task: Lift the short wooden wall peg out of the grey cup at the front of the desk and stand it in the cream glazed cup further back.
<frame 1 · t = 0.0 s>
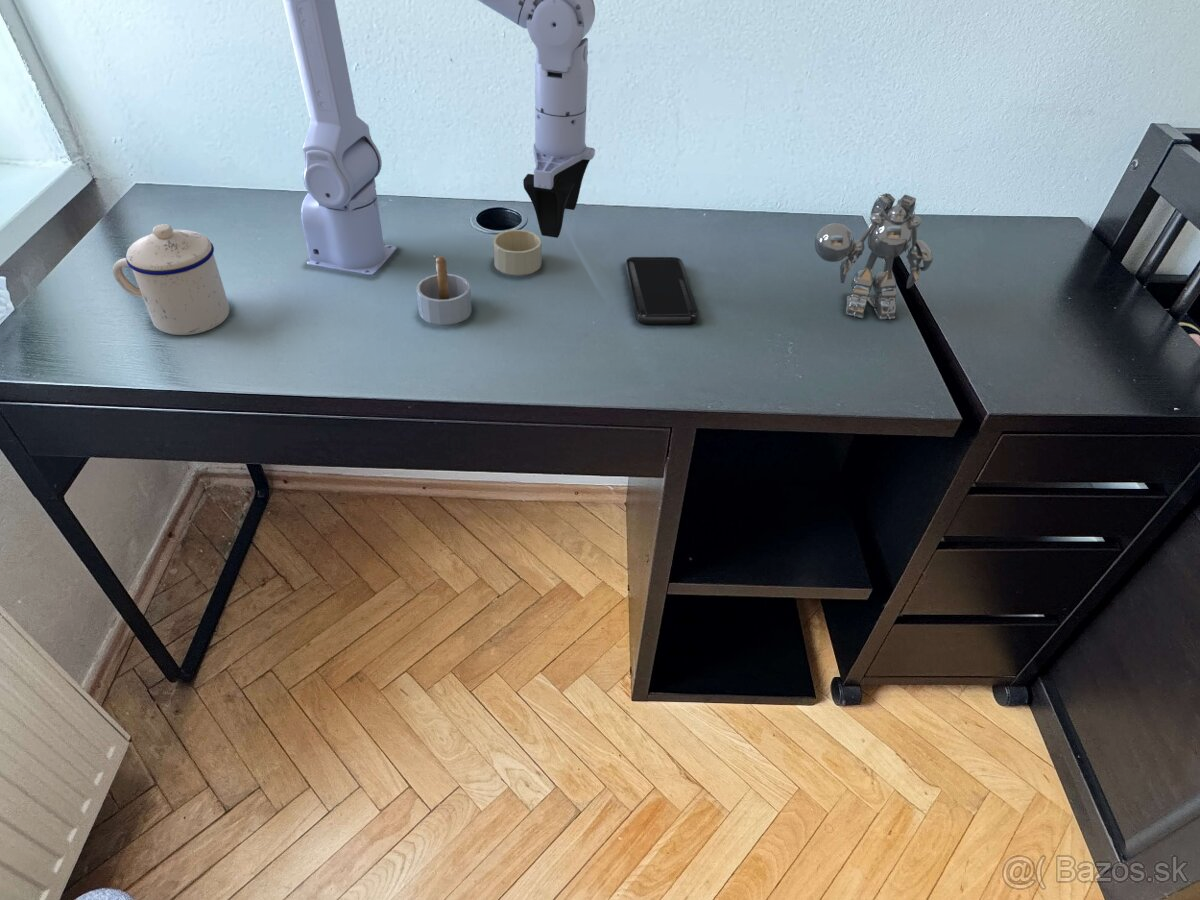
hand: (558, 221, 98), 10 cm above the table, tool pointing down, fingers open, 7 cm apart
grey cup: (445, 313, 100), on the table, touching wooden wall peg
cream cup: (517, 266, 109), on the table
wooden wall peg: (445, 310, 100), resting on grey cup
phone: (660, 293, 106), on the table
robot toy: (855, 307, 106), on the table
teacup with lid: (180, 317, 97), on the table
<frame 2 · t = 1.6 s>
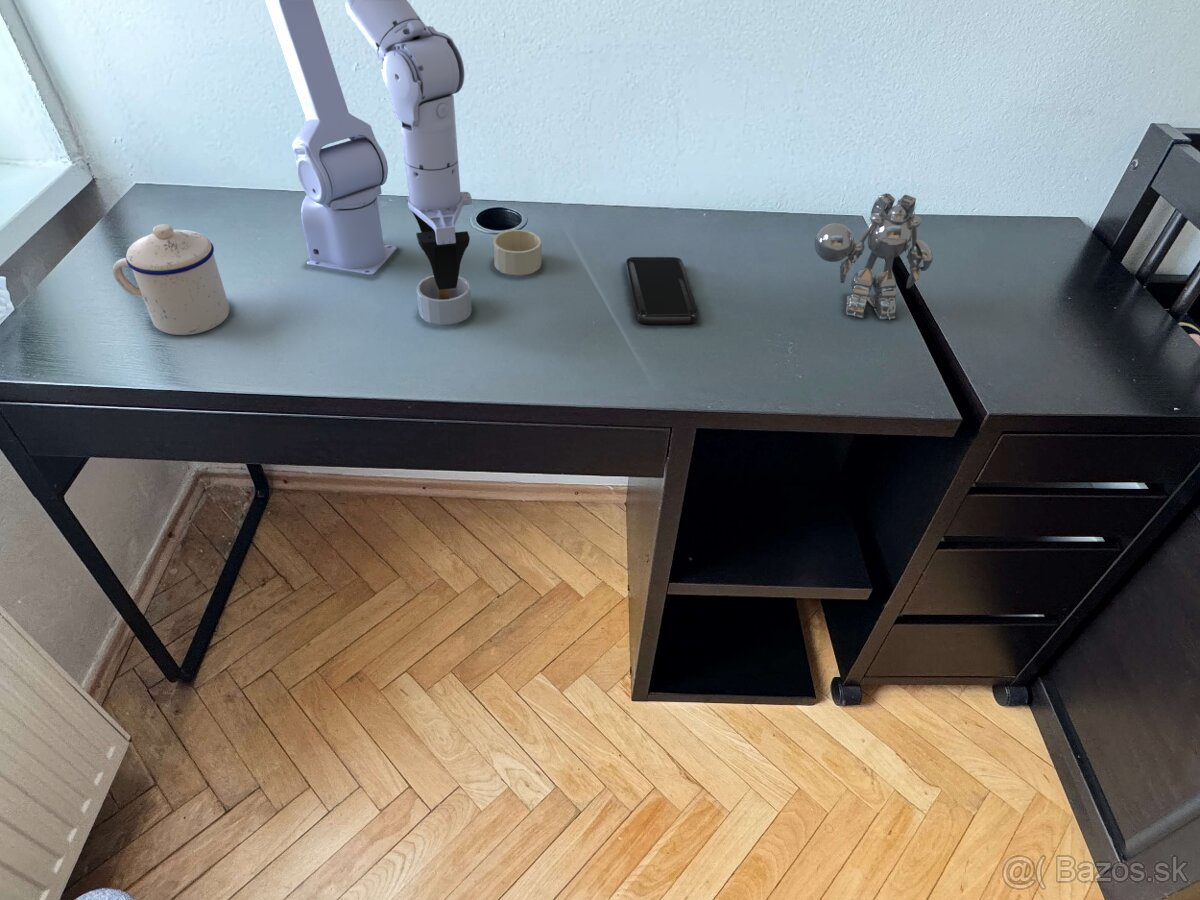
hand: (442, 271, 96), 6 cm above the table, tool pointing down, fingers open, 7 cm apart
nothing on the table moved.
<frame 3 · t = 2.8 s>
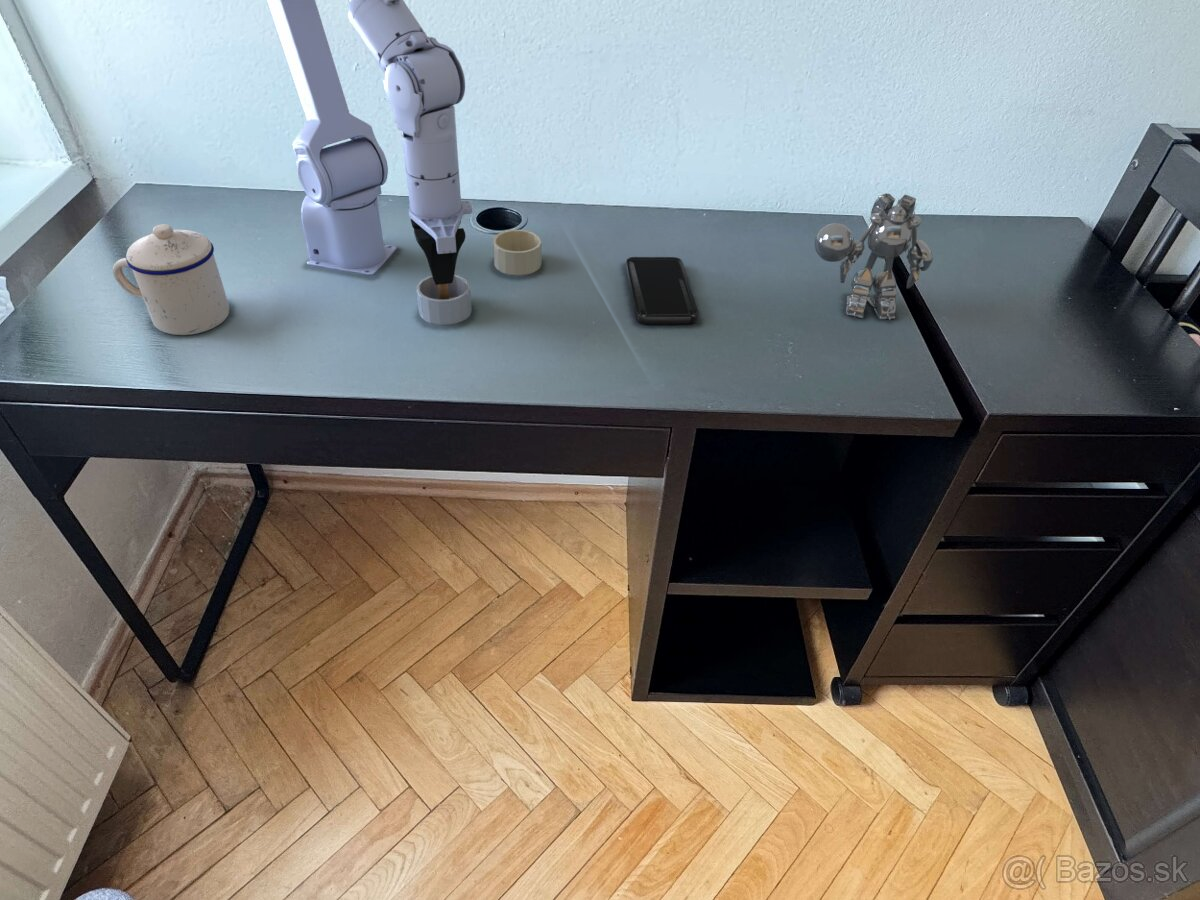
hand: (442, 279, 97), 5 cm above the table, tool pointing down, fingers closed on wooden wall peg, 1 cm apart
wooden wall peg: (445, 310, 100), resting on grey cup, touching gripper
everything else where it was.
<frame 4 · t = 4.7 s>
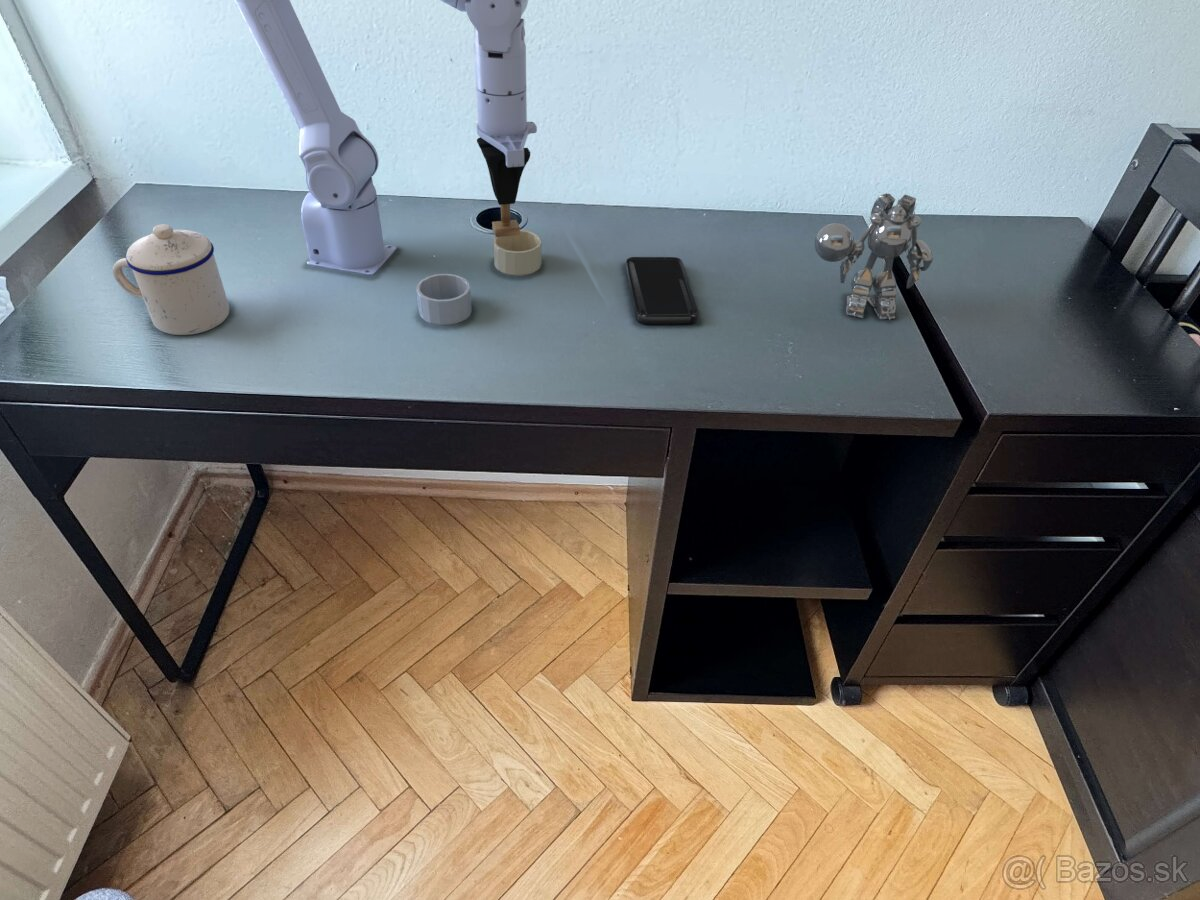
hand: (505, 200, 101), 10 cm above the table, tool pointing down, fingers closed on wooden wall peg
grey cup: (445, 313, 100), on the table
wooden wall peg: (506, 232, 104), point 6 cm above the table, touching gripper
everything else where it was.
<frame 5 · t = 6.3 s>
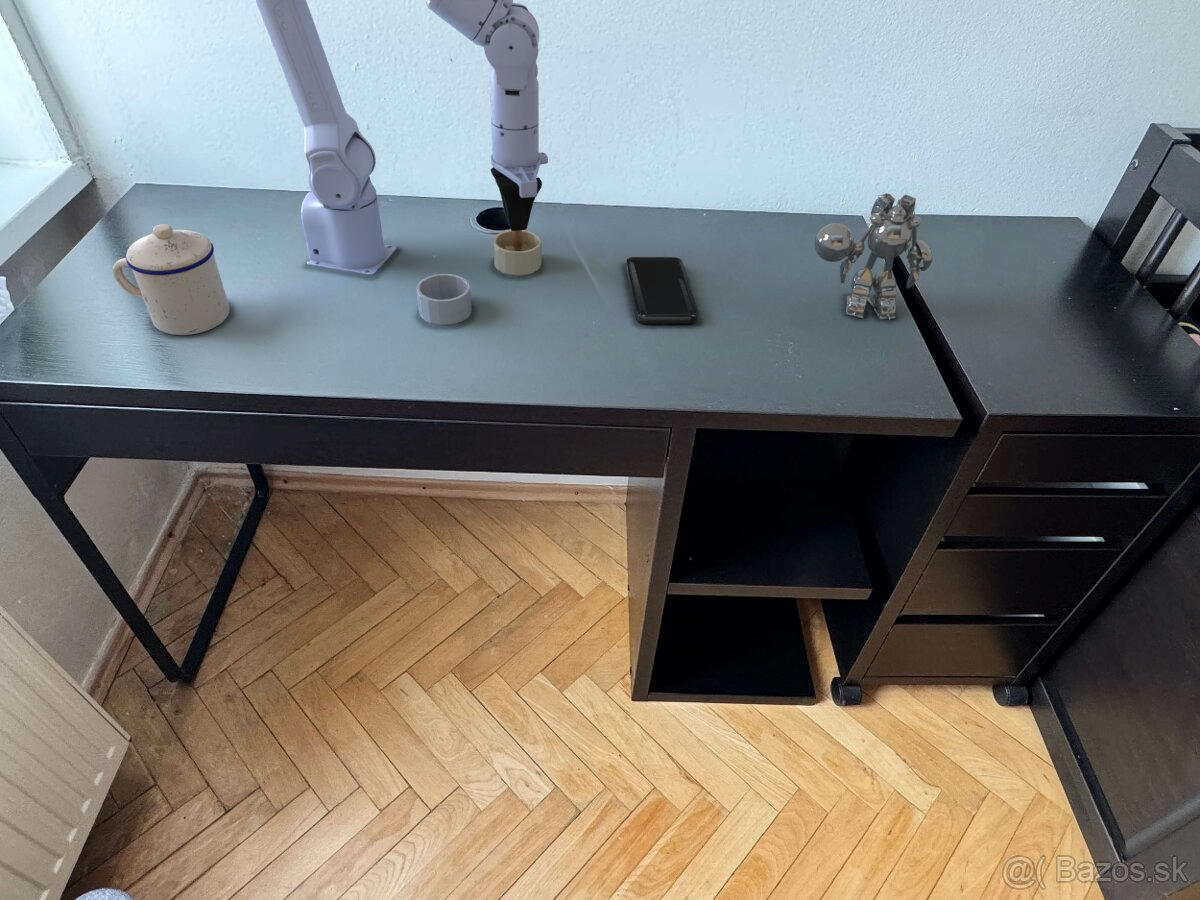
hand: (517, 226, 105), 6 cm above the table, tool pointing down, fingers closed on wooden wall peg, 1 cm apart
wooden wall peg: (517, 256, 108), point 2 cm above the table, touching gripper
everything else where it was.
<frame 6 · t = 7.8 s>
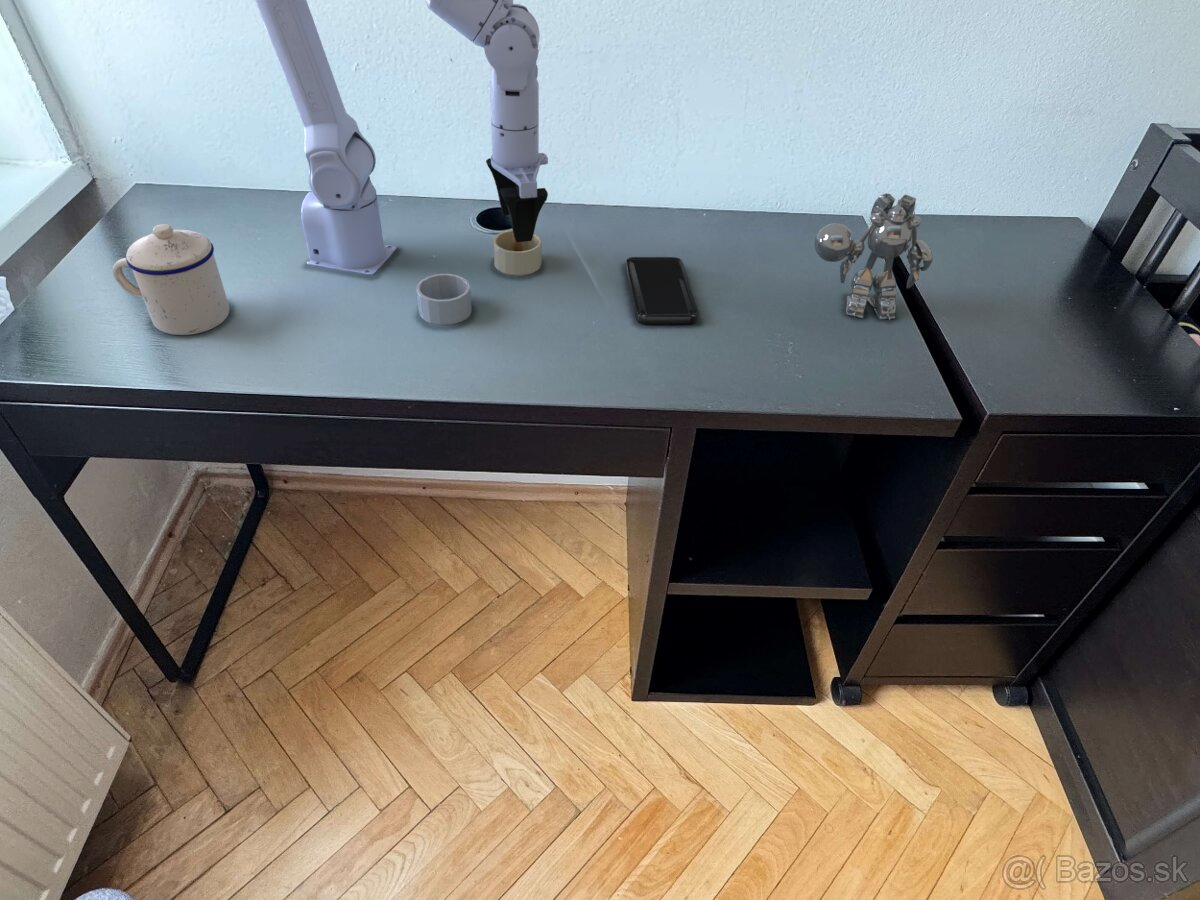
hand: (516, 226, 106), 6 cm above the table, tool pointing down, fingers open, 7 cm apart
cream cup: (517, 266, 109), on the table, touching wooden wall peg
wooden wall peg: (518, 262, 109), resting on cream cup
everything else where it was.
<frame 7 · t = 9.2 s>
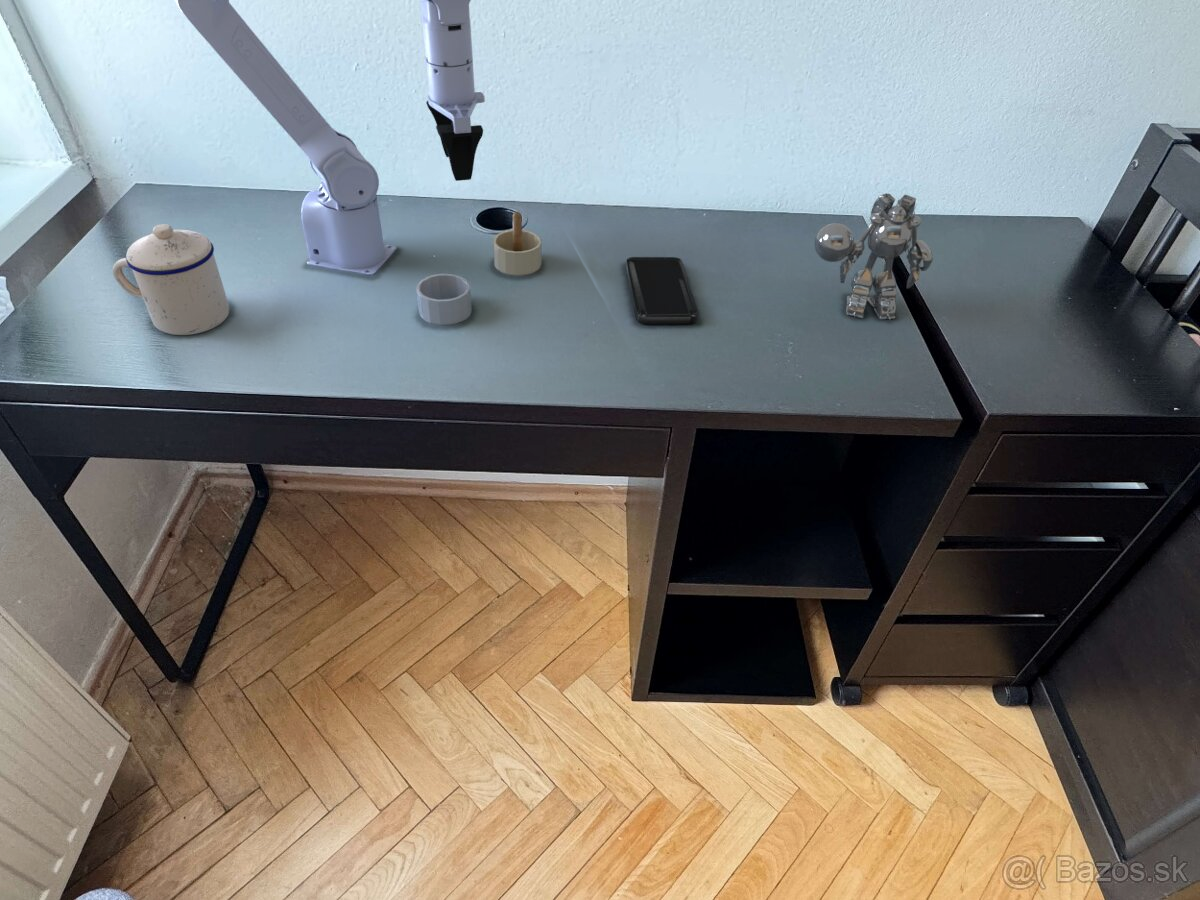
hand: (458, 167, 108), 10 cm above the table, tool pointing down, fingers open, 7 cm apart
nothing on the table moved.
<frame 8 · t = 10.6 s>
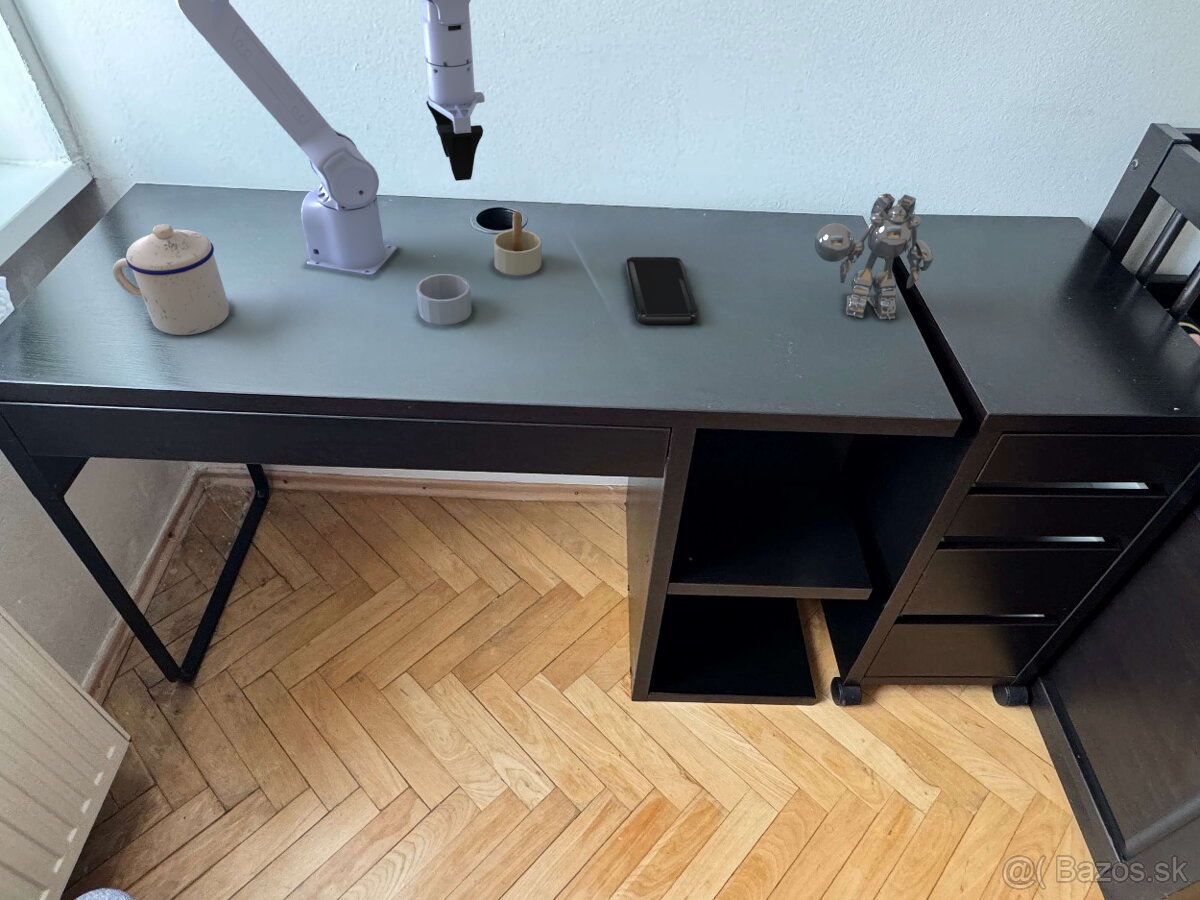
hand: (458, 167, 108), 10 cm above the table, tool pointing down, fingers open, 7 cm apart
nothing on the table moved.
at the end: wooden wall peg 0.0 cm off-centre in the cream cup, point 0.5 cm above the cream cup's base; the gripper is holding nothing; grey cup inside the target area (0.0 cm from its centre), on the table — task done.
